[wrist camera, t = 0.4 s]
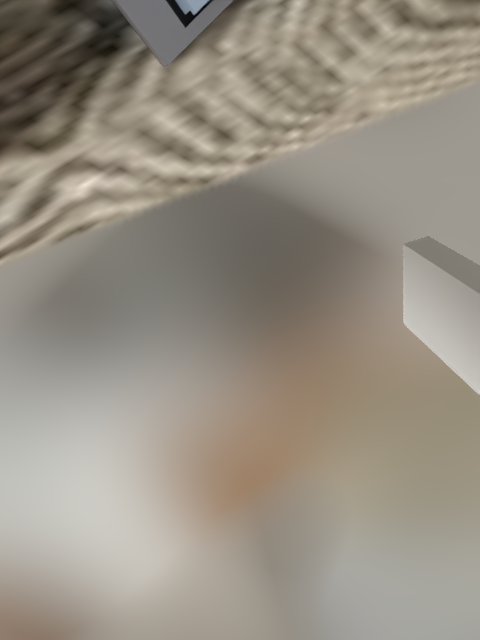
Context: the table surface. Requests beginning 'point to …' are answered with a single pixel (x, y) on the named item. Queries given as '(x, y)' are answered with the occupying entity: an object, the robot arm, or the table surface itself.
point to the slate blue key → (191, 5)
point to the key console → (168, 24)
